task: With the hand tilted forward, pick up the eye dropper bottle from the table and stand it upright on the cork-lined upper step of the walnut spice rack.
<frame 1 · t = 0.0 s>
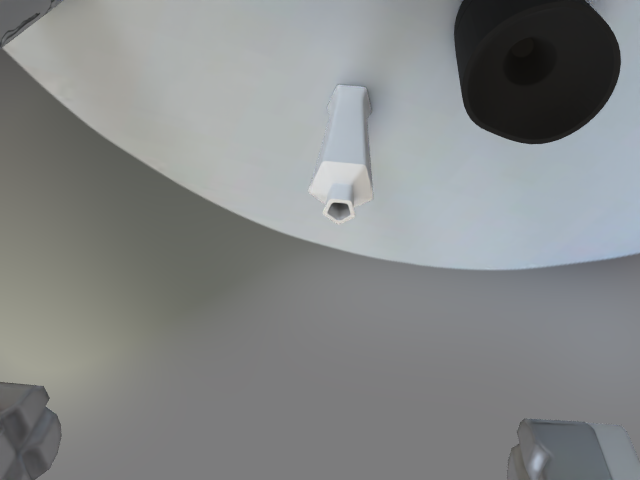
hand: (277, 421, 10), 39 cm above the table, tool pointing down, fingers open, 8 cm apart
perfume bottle: (351, 101, 48), on the table
black bluetooth speaker: (511, 22, 43), on the table
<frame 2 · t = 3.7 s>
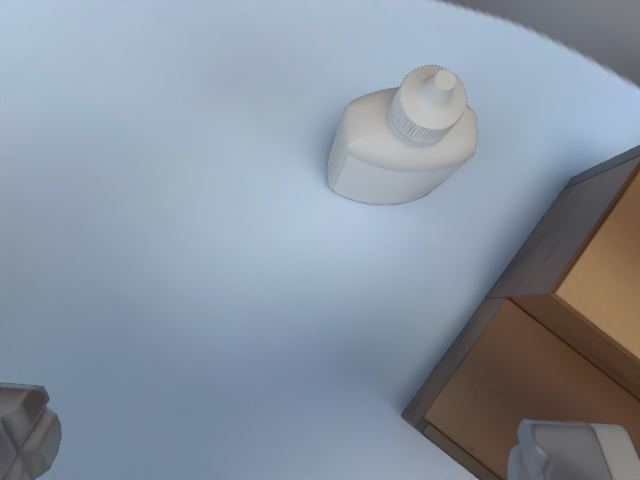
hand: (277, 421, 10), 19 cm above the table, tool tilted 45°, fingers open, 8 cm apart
spice rack: (603, 380, 29), on the table
eye dropper bottle: (378, 175, 30), on the table
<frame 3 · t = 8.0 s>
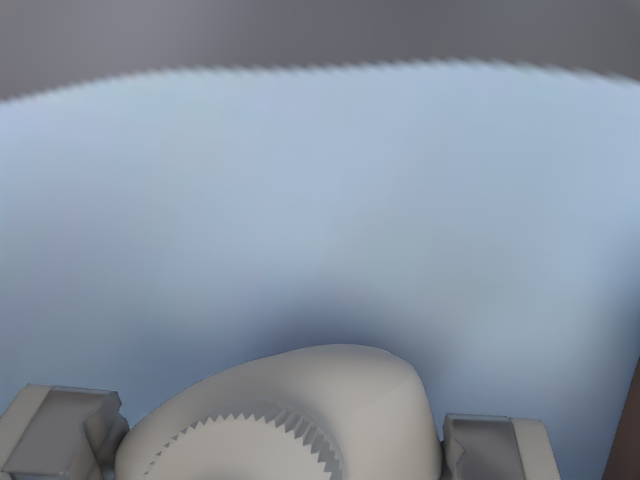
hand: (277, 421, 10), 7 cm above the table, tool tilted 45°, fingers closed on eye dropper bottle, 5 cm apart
eye dropper bottle: (310, 406, 17), on the table, touching gripper
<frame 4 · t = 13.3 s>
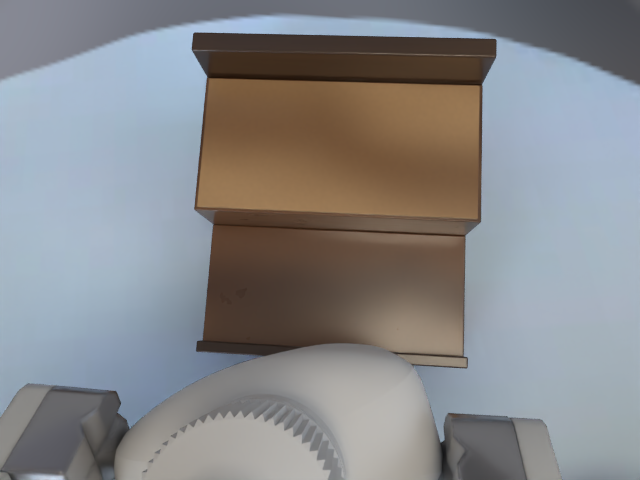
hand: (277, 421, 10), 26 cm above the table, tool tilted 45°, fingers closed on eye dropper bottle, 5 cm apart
spice rack: (339, 230, 36), on the table
eye dropper bottle: (310, 405, 17), point 18 cm above the table, touching gripper
when the fingers open (14 cm above the table, at t = 18.5 s): eye dropper bottle stays where it is, resting on spice rack.
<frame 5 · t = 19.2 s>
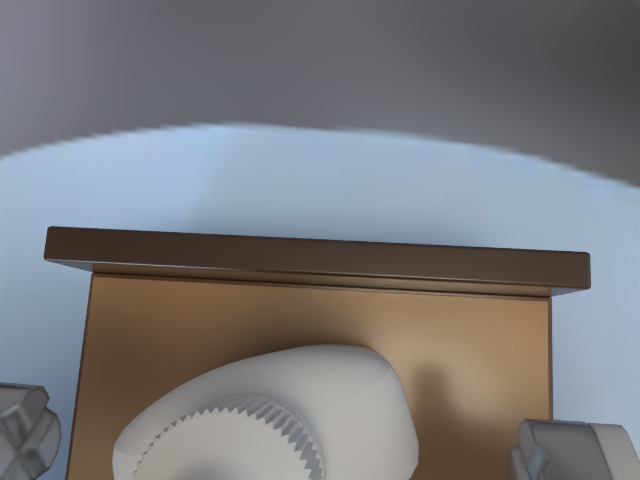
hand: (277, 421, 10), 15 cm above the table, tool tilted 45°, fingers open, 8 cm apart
spice rack: (316, 462, 24), on the table
eye dropper bottle: (301, 403, 17), point 7 cm above the table, touching spice rack
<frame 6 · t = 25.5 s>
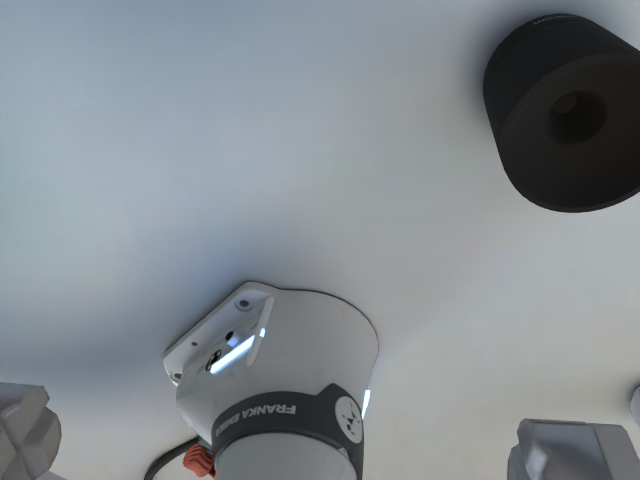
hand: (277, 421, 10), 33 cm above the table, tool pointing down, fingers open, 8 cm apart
black bluetooth speaker: (545, 76, 39), on the table
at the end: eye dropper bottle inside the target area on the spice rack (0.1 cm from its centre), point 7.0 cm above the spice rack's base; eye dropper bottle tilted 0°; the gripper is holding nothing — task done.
